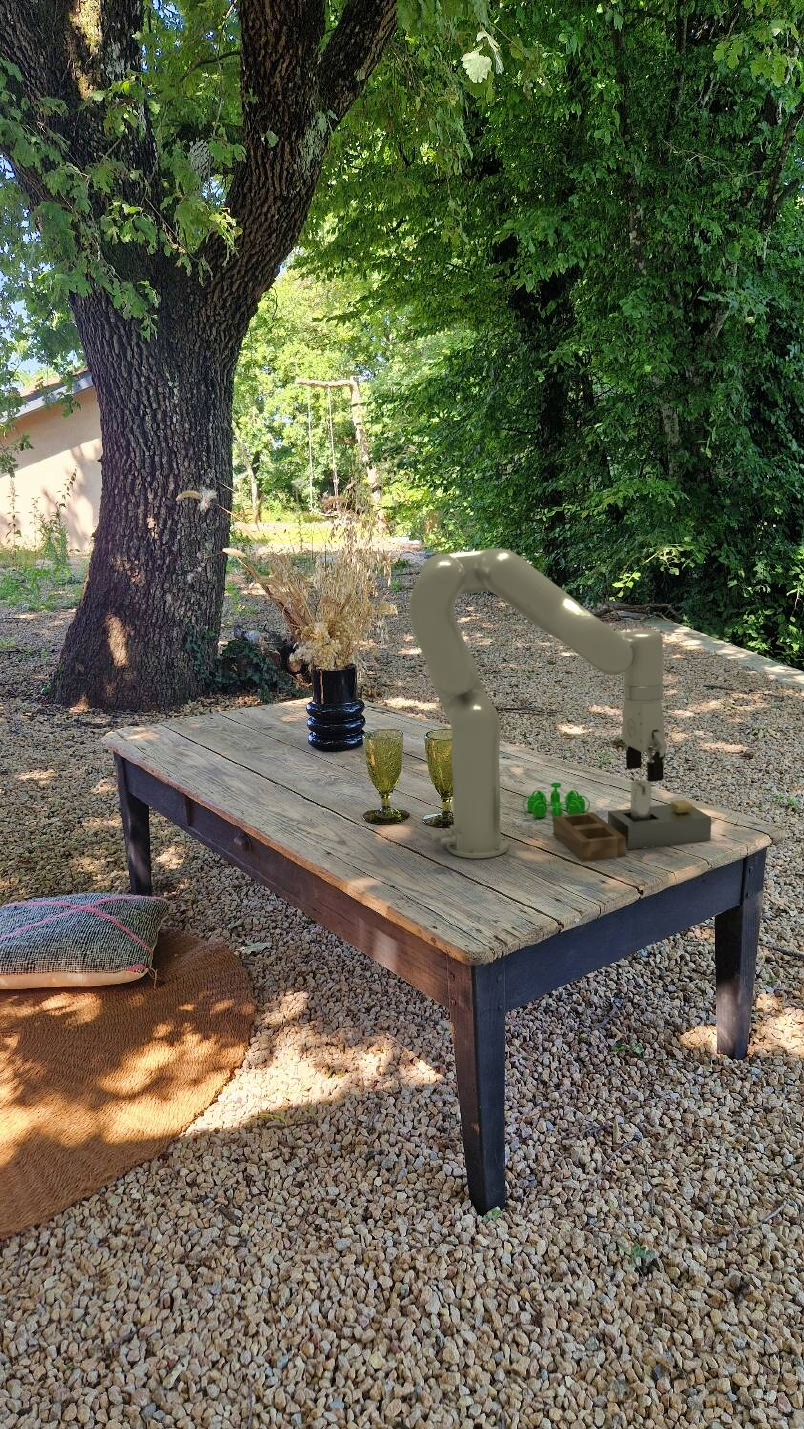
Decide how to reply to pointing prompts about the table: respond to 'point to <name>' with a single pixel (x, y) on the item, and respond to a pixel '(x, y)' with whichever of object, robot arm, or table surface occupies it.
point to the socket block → (661, 827)
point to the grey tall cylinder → (640, 801)
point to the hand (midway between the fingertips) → (644, 774)
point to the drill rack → (589, 836)
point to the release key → (681, 806)
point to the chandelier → (555, 803)
